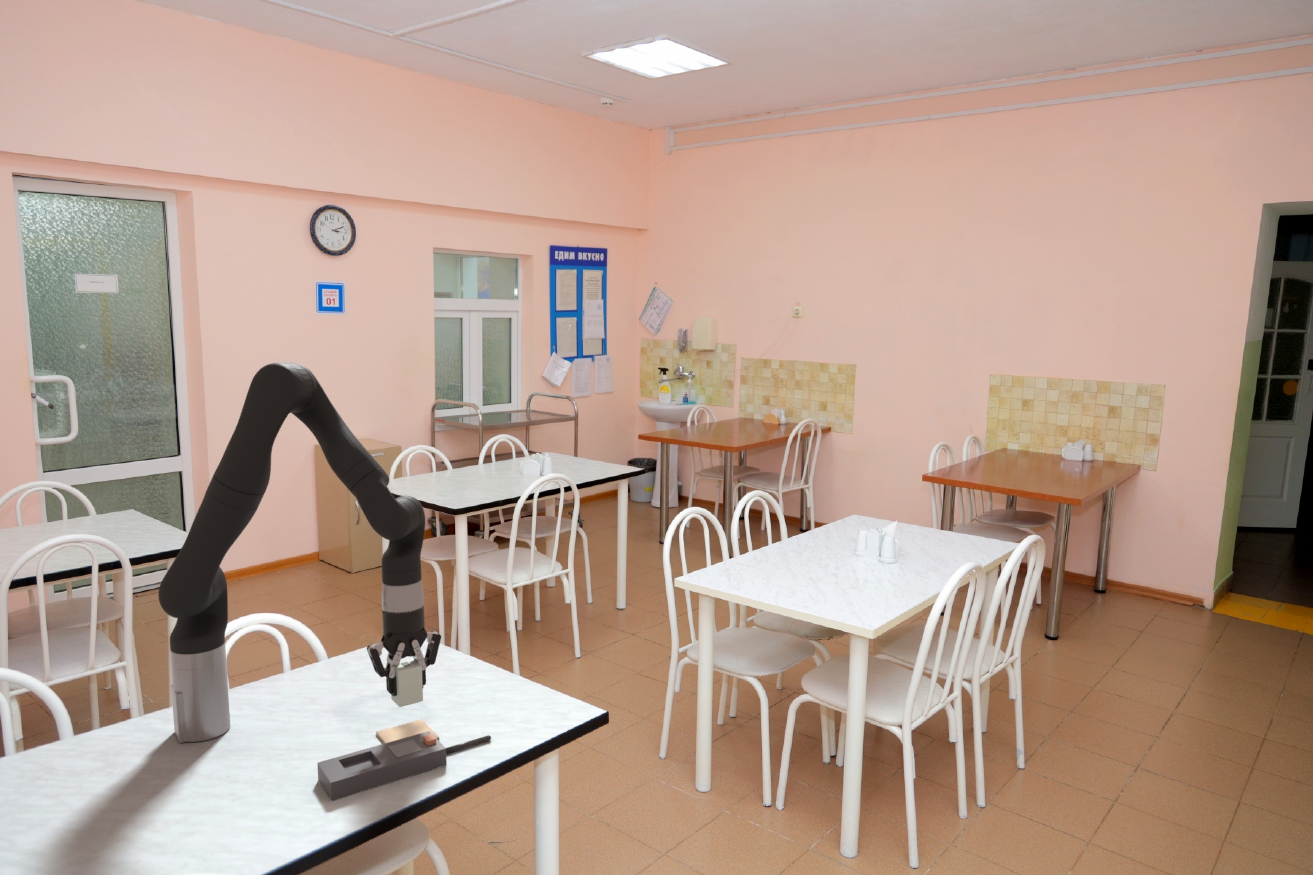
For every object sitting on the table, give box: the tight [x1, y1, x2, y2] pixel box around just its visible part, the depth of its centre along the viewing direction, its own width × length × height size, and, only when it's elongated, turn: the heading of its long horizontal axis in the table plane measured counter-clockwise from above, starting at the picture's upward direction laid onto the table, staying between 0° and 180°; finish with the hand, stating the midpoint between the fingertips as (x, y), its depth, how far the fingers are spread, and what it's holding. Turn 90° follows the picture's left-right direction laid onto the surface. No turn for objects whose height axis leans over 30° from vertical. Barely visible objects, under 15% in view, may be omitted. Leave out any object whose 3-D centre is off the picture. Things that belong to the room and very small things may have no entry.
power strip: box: [317, 731, 492, 802], centre depth 155 cm, size 30×8×4 cm, turn 126°
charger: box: [390, 657, 424, 708], centre depth 163 cm, size 4×4×7 cm
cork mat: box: [375, 719, 440, 744], centre depth 165 cm, size 9×9×1 cm
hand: (406, 690), depth 163 cm, fingers closed on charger, 4 cm apart
